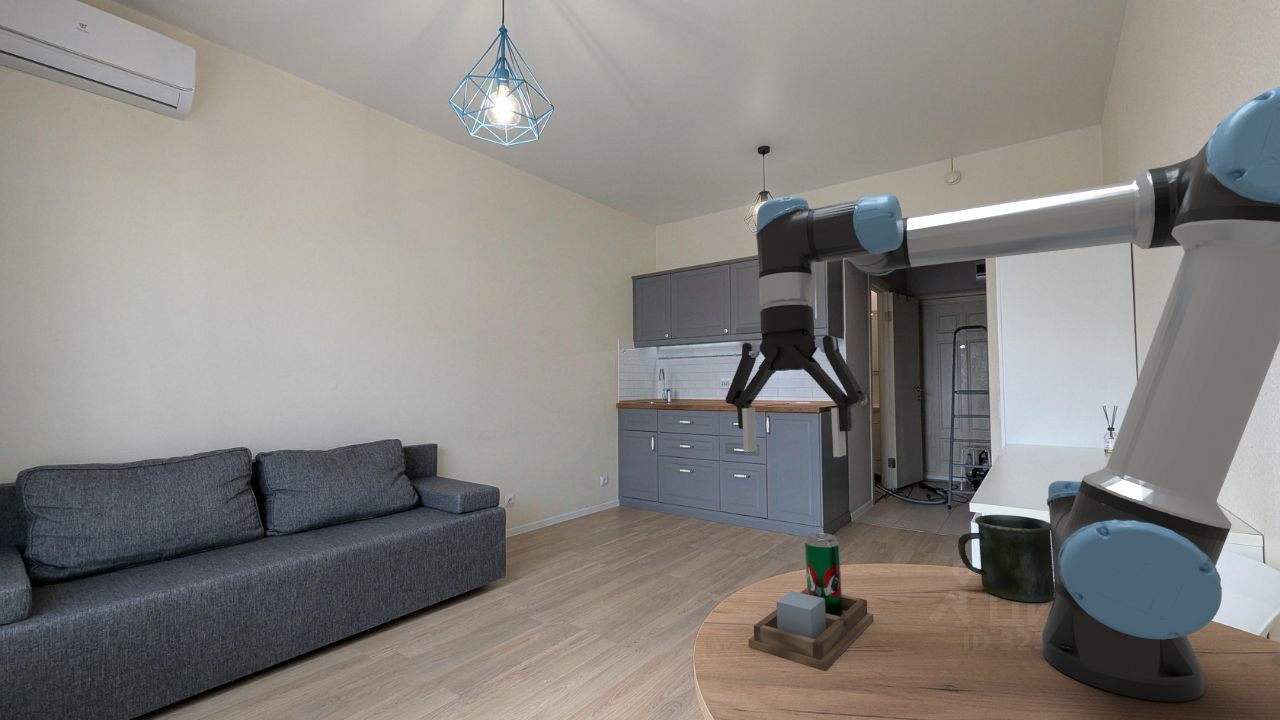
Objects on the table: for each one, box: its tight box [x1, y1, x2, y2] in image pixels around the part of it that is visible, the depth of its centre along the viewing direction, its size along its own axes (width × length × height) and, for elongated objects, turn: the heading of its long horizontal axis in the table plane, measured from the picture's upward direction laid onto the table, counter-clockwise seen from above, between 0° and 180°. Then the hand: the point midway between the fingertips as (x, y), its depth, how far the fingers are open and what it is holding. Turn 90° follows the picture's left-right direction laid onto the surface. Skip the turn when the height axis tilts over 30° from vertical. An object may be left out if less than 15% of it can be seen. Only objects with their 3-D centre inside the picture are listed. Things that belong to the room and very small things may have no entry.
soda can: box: [804, 532, 843, 616], centre depth 84 cm, size 5×5×12 cm
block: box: [776, 590, 826, 639], centre depth 78 cm, size 5×5×5 cm
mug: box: [957, 514, 1055, 603], centre depth 94 cm, size 11×15×12 cm
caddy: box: [748, 587, 874, 672], centre depth 81 cm, size 11×19×3 cm, turn 140°
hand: (792, 453), depth 79 cm, fingers open, 13 cm apart
